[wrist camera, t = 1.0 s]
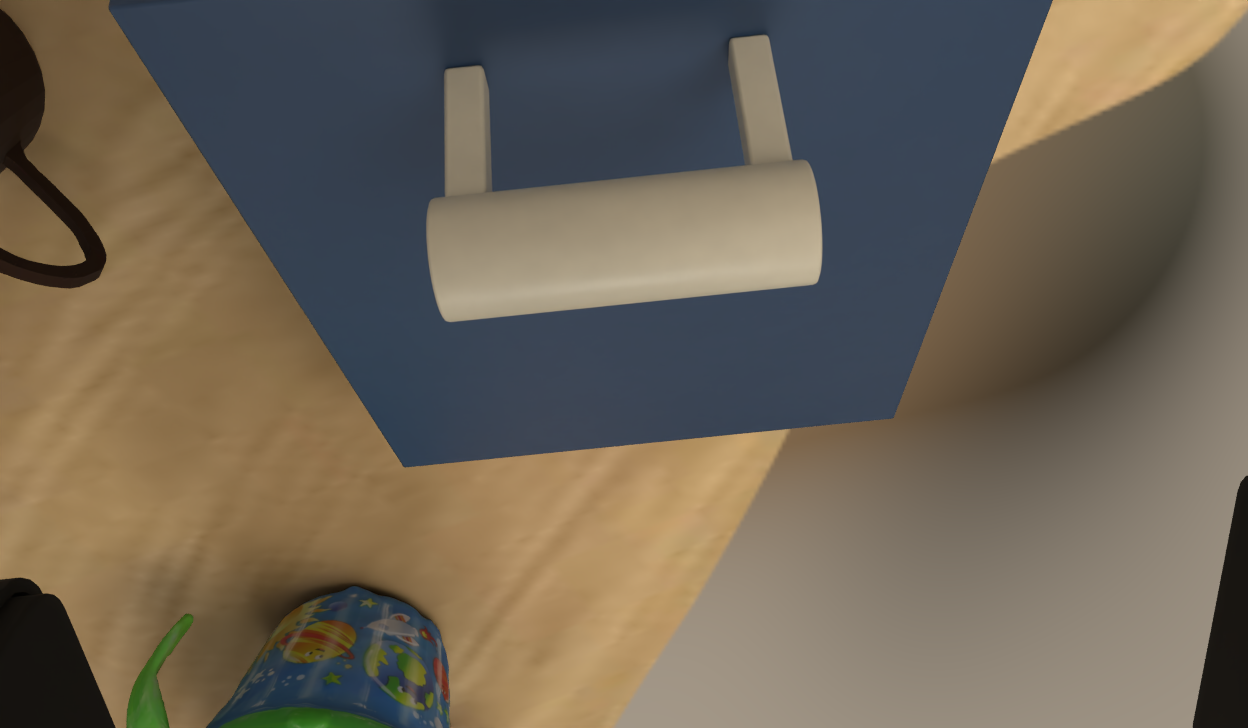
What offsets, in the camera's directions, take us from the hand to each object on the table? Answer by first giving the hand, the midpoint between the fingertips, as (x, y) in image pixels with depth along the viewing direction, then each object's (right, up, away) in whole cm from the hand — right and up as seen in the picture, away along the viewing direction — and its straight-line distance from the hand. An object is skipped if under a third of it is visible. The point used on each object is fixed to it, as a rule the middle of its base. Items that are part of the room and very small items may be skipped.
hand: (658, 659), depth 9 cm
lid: (0, +5, +17) cm, 18 cm away
